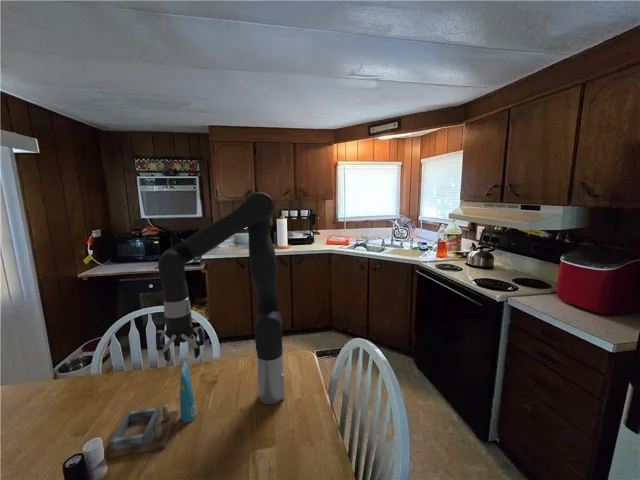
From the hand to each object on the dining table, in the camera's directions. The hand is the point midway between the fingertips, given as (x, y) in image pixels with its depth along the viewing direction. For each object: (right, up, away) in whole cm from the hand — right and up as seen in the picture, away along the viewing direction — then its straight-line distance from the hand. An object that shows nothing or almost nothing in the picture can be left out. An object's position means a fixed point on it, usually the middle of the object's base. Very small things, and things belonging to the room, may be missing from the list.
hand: (183, 358), depth 95 cm
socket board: (-11, -23, -3) cm, 25 cm away
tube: (0, -22, +4) cm, 22 cm away
